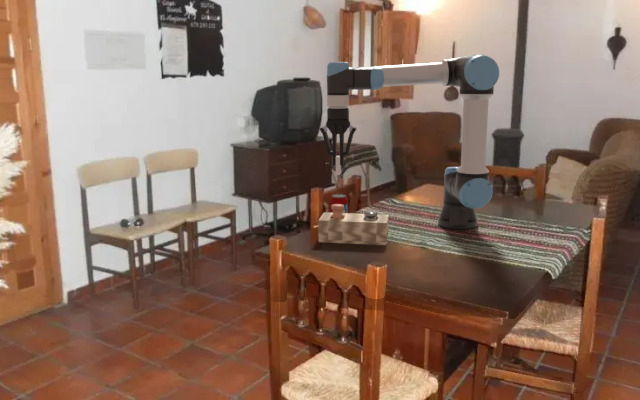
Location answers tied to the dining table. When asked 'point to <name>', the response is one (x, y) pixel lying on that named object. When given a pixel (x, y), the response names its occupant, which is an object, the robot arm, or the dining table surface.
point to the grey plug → (370, 215)
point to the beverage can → (339, 201)
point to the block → (353, 229)
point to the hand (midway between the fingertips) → (338, 174)
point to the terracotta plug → (337, 211)
